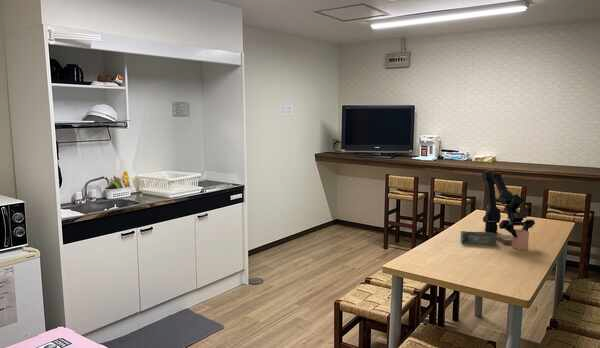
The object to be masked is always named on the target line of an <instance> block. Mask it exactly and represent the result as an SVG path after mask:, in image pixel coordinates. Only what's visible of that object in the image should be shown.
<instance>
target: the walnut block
mask: <svg viewBox="0 0 600 348" xmlns="http://www.w3.org/2000/svg"><path fill="white" fill-rule="evenodd" d="M496 235H497V234H496ZM497 241H498V242H499V243H502V244H503V245H512V234H498V235H497Z"/></svg>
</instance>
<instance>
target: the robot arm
mask: <svg viewBox="0 0 600 348" xmlns="http://www.w3.org/2000/svg"><path fill="white" fill-rule="evenodd" d="M481 177H482V181H483V182H484V183H485V184H484V185H485V187H486V197H487V198H486V199H487V208H486V210H485V215H484V216H483V218H482V221H483V222H484V223H485V226H484V232H494V233H495V234H497V232H498V228H499V229H500V230H504V231H507V232H508V233H510V235H513V236H514V237H515V238H517V235H516V232H515V230H514V229H515V226H517V227H519V226H521V227H522V228H521V229H524V230H526V231H528V232H529V229H532V228H533V226H534V225H535V224H536V222H535V220H534V219H526V218H527V217H529V216H530V215H529V213H528V210H524V211H522V212H521V211H520V212H519V211H518V209H519V208H520V207H521V206H522V205H523V204H524V202H525V201H524V198H523V197H522V196H519V194H518V193H517V194H516V193H515V194H513V192H511V191H509V190H508V187H507V186H506V184H505V181H504V179H503V177H502V173H501V172H497V171H495V170H494V169H493V170H483V172H482V173H481ZM495 187H496V188H495ZM496 189H497V191H498V193H499V195H498V199H499V202H500V204H501V205H504V208H503V211H504V212H506V215H507V217H506V218H507V219H503V220H501V218H502V215H501V209H500V208H498V206H497V198H496ZM524 219H526V220H525V221H524ZM500 220H501V222H500Z"/></svg>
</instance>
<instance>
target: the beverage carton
mask: <svg viewBox="0 0 600 348" xmlns="http://www.w3.org/2000/svg"><path fill="white" fill-rule="evenodd" d="M459 238H460V242H461V244H462V245H477V246H478V245H479V246H483V245H484V246H497V241H498V240H497V233H494V232H485V231H460V237H459Z"/></svg>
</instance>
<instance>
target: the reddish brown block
mask: <svg viewBox="0 0 600 348" xmlns="http://www.w3.org/2000/svg"><path fill="white" fill-rule="evenodd" d="M514 230H515V232H516V235H517V238H515V237H514V236H513V235H512V234H511V235H512V244H511V247H512V248H514V249H516V250H519V251H521V250H522V251H523V250H529V239H530V232H529V230H528V231H526V230H524V229H522V228H520V229H519V228H518V229H515V228H514Z"/></svg>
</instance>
